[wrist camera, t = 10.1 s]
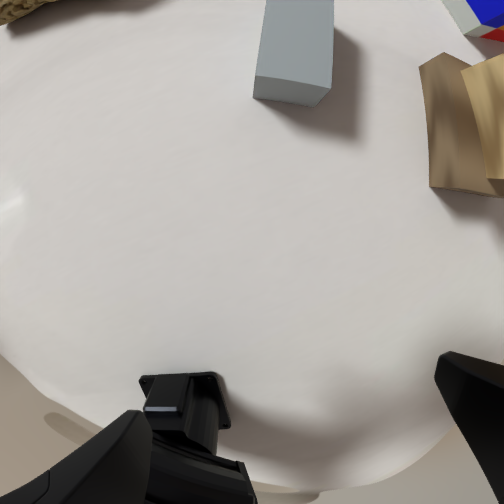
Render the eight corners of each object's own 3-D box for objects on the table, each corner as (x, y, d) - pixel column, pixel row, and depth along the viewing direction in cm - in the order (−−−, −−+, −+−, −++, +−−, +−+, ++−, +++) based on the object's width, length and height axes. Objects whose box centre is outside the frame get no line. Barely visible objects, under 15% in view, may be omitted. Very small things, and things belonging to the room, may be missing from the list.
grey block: (313, 108, 16) (331, 88, 12) (252, 98, 16) (255, 75, 12) (319, 19, 15) (333, -10, 11) (265, 10, 14) (270, -22, 10)
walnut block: (486, 196, 18) (517, 200, 14) (426, 186, 18) (459, 188, 14) (478, 93, 16) (505, 85, 12) (416, 68, 16) (443, 52, 12)
